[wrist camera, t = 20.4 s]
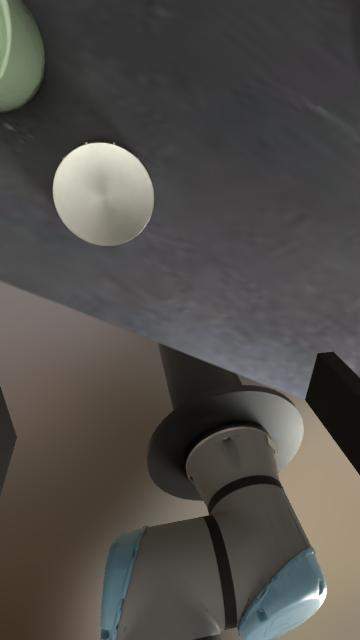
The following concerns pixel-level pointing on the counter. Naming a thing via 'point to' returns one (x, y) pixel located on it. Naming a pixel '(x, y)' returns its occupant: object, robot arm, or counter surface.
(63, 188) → the flask lid
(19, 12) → the flask
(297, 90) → the counter surface
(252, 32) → the counter surface
